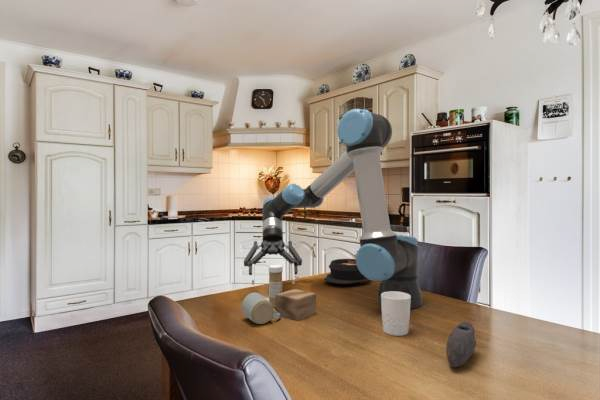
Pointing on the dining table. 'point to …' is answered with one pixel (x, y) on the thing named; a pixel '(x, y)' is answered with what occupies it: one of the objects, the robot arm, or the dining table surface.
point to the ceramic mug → (258, 309)
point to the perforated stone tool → (460, 344)
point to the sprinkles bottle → (275, 282)
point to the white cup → (395, 312)
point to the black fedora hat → (345, 272)
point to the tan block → (295, 304)
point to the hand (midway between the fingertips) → (273, 282)
